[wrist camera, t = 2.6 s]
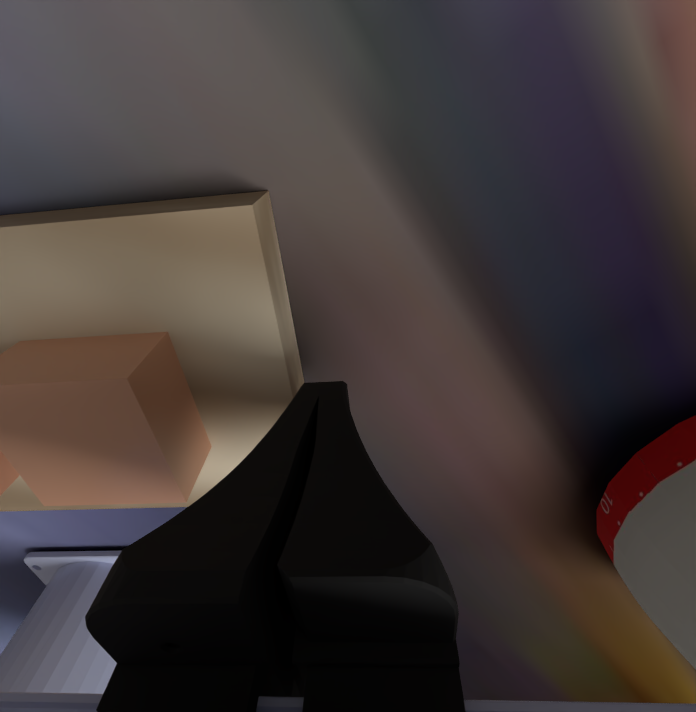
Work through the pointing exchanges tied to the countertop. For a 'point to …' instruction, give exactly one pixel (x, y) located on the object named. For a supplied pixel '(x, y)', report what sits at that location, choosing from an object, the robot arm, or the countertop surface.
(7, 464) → the tile
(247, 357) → the beige flat slab
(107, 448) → the tile
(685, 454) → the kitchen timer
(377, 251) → the countertop surface
